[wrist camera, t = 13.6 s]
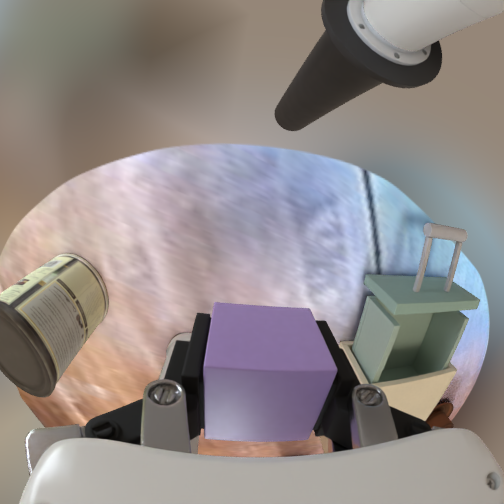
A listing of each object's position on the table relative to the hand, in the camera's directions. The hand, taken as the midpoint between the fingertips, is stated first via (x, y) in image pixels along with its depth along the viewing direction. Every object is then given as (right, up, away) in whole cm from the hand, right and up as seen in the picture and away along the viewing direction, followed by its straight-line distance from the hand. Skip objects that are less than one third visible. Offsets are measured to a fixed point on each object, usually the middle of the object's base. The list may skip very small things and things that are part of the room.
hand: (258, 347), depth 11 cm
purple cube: (0, 0, 0) cm, 0 cm away
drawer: (+19, -2, +19) cm, 26 cm away
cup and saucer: (+38, -32, +30) cm, 58 cm away
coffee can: (-22, -1, +17) cm, 28 cm away
